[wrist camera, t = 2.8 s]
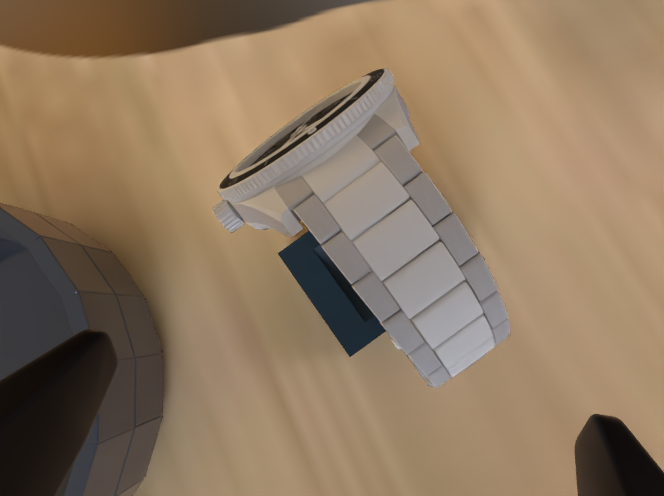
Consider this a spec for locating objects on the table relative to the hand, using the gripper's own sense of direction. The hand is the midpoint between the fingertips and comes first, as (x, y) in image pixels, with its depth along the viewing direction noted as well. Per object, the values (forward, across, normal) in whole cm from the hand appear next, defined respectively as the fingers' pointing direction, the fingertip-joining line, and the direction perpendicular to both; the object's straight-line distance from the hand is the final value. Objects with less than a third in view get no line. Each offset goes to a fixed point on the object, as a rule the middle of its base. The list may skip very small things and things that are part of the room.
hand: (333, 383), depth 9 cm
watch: (+10, 0, +5) cm, 11 cm away
